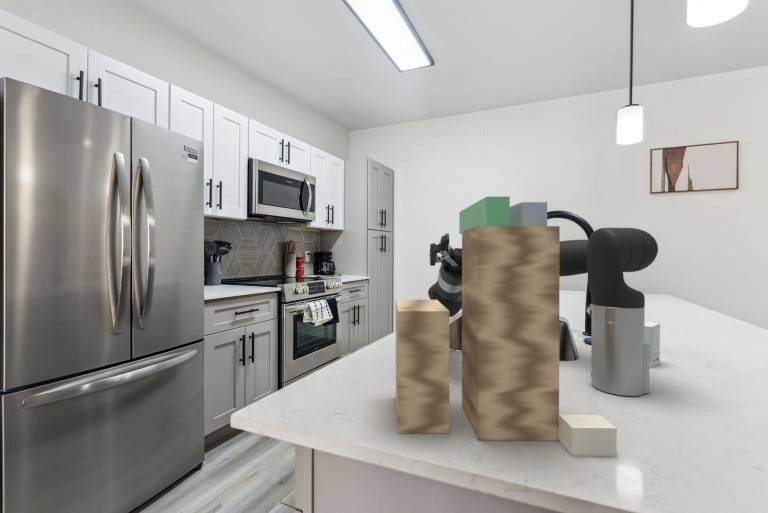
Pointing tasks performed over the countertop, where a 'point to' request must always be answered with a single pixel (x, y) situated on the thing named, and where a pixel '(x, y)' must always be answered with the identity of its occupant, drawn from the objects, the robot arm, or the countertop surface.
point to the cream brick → (587, 435)
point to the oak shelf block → (511, 331)
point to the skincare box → (653, 342)
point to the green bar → (485, 213)
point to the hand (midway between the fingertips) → (468, 237)
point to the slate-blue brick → (529, 214)
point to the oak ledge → (422, 366)
